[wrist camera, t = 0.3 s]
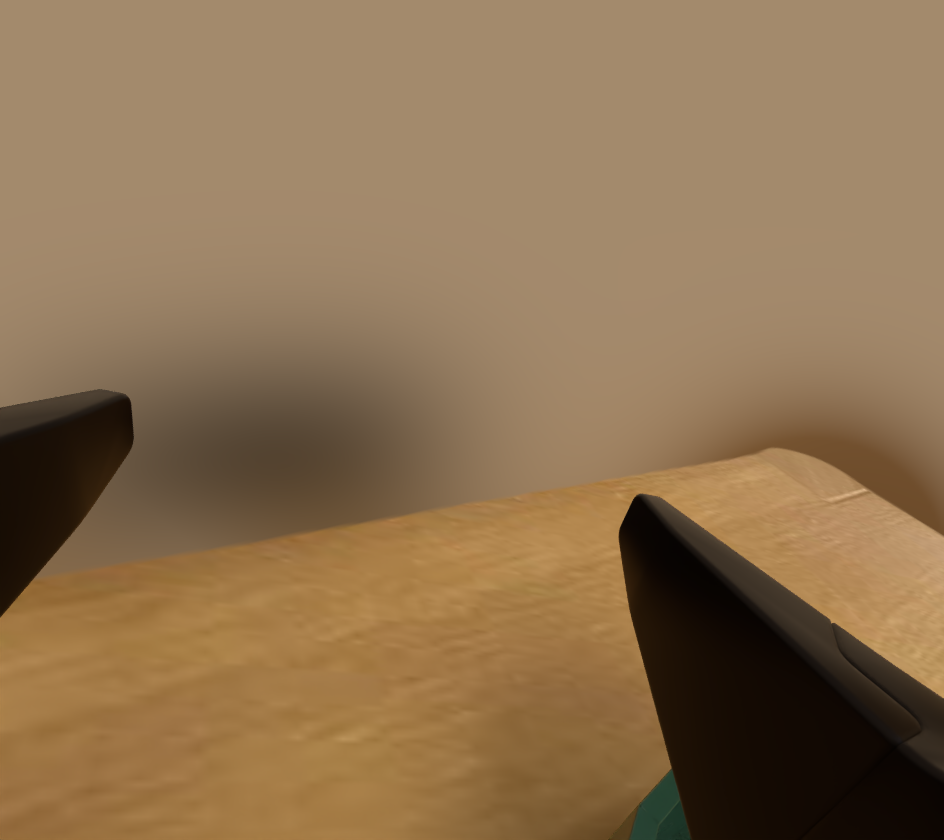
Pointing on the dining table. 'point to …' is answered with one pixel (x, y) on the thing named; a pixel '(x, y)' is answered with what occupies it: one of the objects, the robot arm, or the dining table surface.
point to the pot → (656, 815)
